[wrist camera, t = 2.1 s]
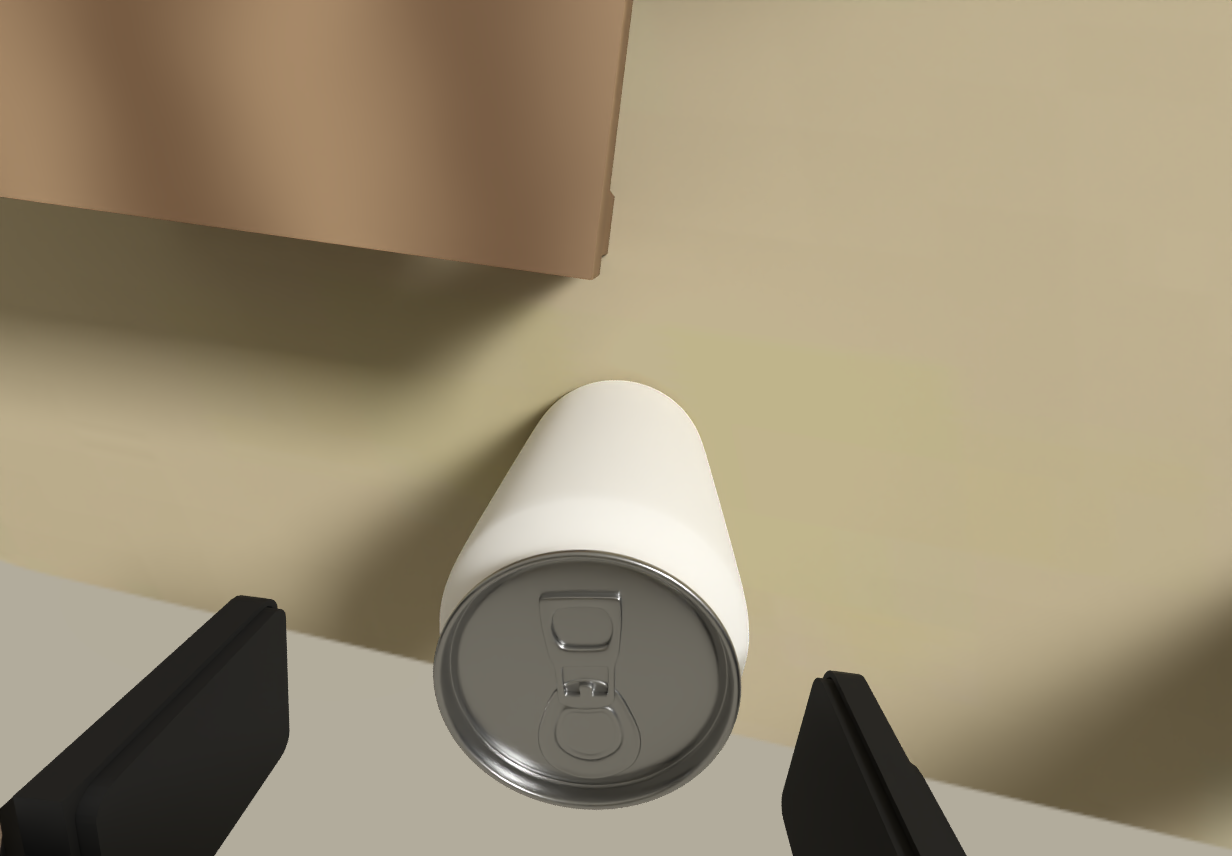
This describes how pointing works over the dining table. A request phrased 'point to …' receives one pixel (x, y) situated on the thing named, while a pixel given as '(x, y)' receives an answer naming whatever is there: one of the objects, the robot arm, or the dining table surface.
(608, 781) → the can
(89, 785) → the robot arm
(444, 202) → the small wooden table
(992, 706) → the dining table surface
